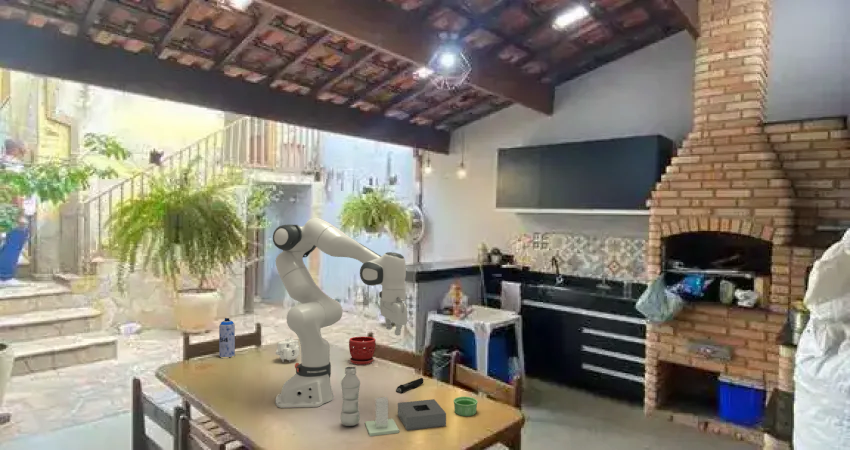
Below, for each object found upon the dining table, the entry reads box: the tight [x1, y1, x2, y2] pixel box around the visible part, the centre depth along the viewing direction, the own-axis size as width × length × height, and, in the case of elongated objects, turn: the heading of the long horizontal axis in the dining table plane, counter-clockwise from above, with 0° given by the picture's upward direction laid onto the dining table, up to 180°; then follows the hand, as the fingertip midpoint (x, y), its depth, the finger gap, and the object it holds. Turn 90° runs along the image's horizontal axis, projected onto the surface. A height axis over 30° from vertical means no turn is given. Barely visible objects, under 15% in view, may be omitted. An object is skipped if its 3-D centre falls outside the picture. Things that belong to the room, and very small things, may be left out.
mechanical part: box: [275, 336, 300, 363], centre depth 253 cm, size 11×12×12 cm
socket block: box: [397, 398, 447, 432], centre depth 180 cm, size 14×14×4 cm
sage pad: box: [364, 417, 400, 437], centre depth 173 cm, size 10×10×1 cm
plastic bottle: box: [340, 366, 361, 427], centre depth 176 cm, size 6×7×20 cm
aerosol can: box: [218, 317, 236, 358], centre depth 261 cm, size 8×8×20 cm
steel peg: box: [375, 396, 389, 428], centre depth 173 cm, size 4×4×9 cm
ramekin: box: [453, 396, 479, 417], centre depth 188 cm, size 9×9×4 cm
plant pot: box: [348, 336, 377, 366], centre depth 251 cm, size 13×13×12 cm
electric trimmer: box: [395, 377, 424, 394], centre depth 214 cm, size 4×16×3 cm, turn 140°
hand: (393, 332), depth 190 cm, fingers open, 8 cm apart
